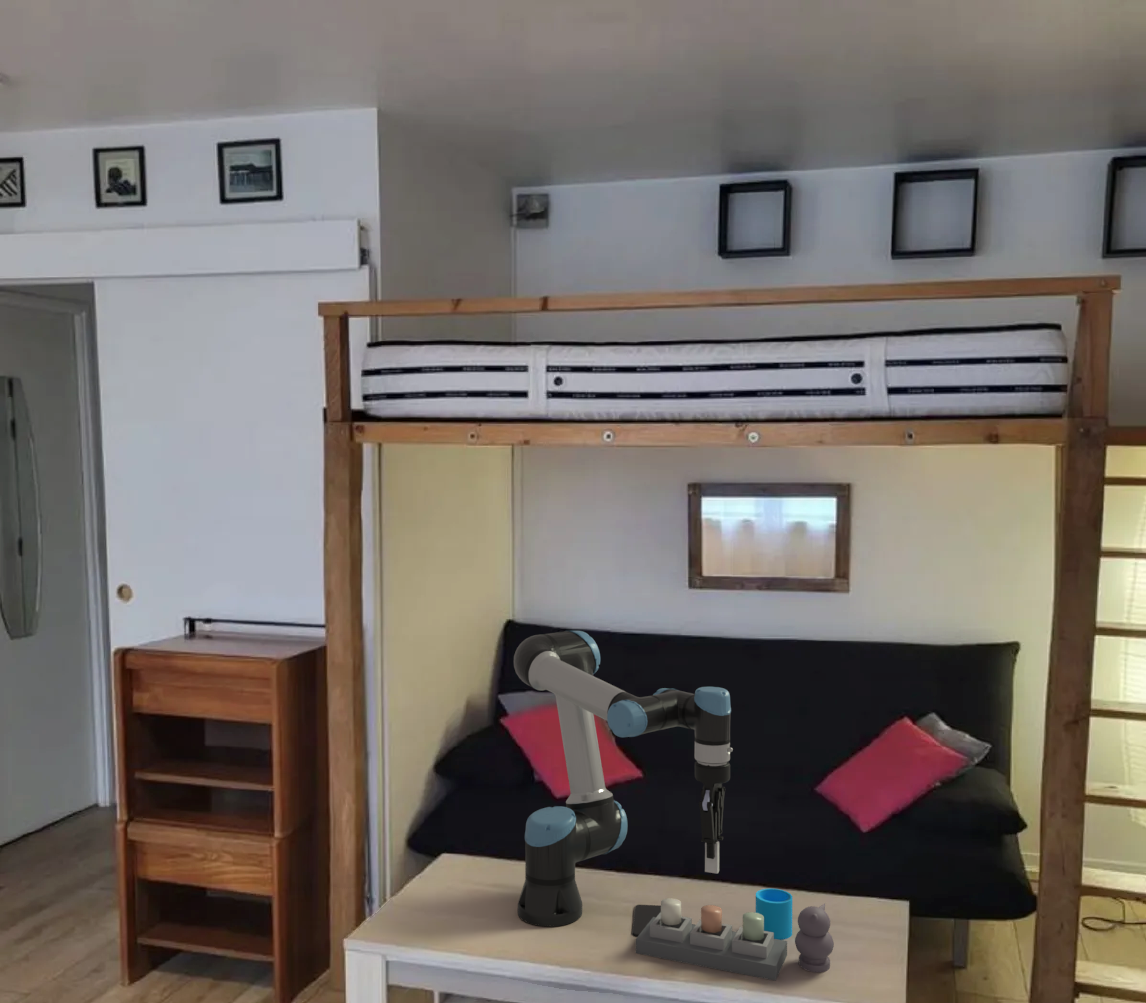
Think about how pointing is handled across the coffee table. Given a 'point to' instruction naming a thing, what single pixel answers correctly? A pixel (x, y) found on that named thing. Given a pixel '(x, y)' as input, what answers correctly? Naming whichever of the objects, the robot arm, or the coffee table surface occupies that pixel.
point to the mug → (775, 911)
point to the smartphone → (643, 917)
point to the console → (713, 948)
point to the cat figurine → (814, 939)
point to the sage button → (753, 926)
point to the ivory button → (671, 911)
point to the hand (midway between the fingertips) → (712, 871)
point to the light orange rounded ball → (711, 918)
